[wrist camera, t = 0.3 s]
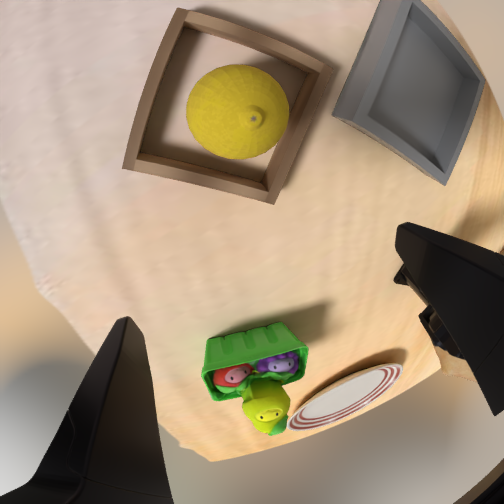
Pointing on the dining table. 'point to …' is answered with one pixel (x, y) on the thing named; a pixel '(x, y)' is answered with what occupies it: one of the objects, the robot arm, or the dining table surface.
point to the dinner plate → (345, 397)
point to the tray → (412, 88)
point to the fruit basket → (256, 372)
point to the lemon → (237, 111)
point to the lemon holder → (285, 145)
